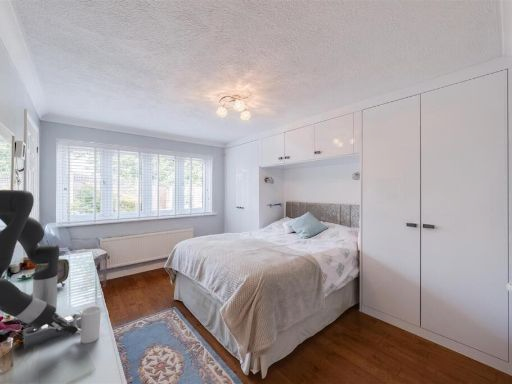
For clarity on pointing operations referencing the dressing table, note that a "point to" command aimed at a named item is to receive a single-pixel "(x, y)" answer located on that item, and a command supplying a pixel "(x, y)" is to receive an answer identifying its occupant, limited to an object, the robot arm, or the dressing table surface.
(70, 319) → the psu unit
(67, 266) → the tabletop clock
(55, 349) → the dressing table surface
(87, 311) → the mug
